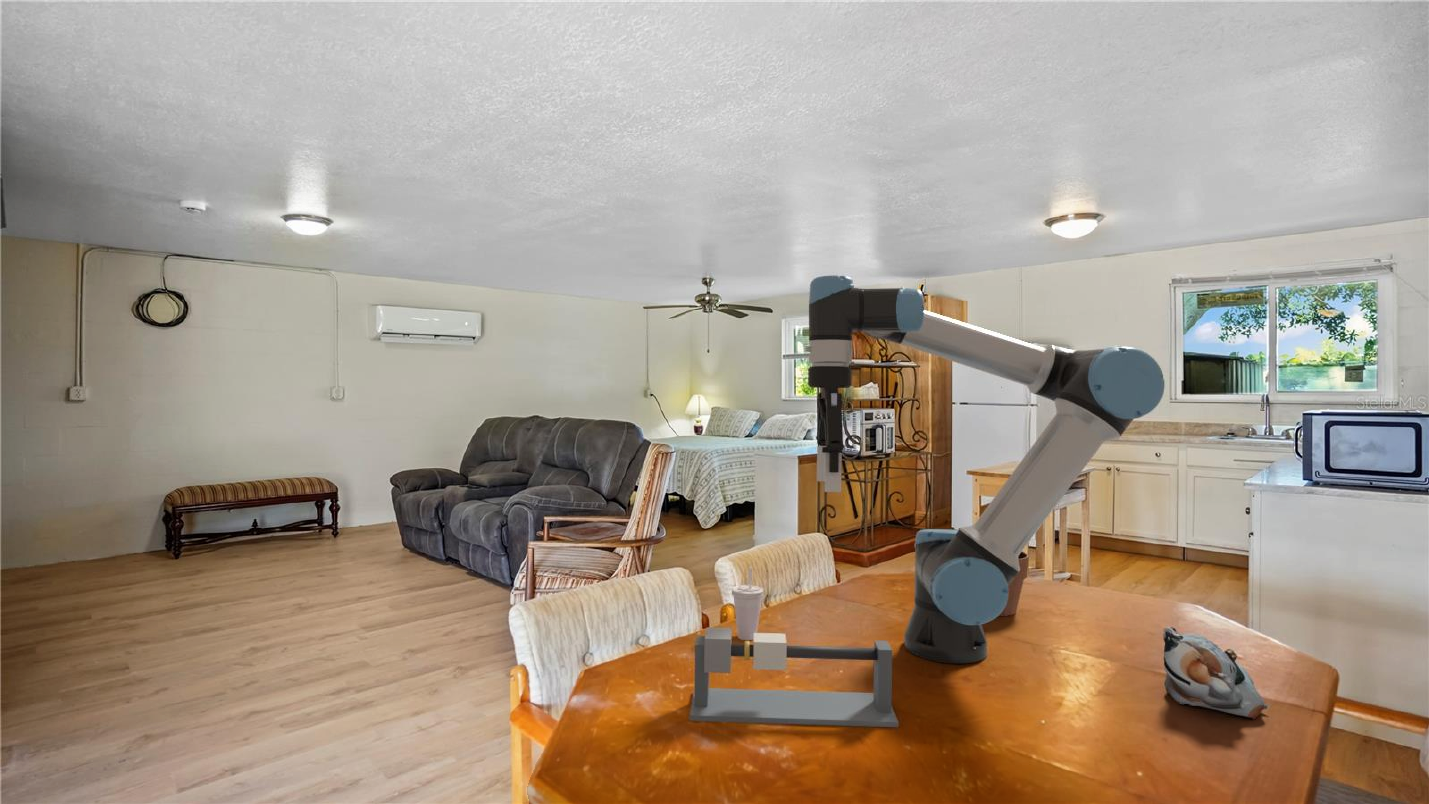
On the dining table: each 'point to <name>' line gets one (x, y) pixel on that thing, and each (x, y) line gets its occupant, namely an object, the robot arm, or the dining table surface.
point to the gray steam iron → (1208, 676)
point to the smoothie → (747, 608)
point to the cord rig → (790, 704)
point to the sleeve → (769, 651)
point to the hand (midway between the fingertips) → (828, 486)
